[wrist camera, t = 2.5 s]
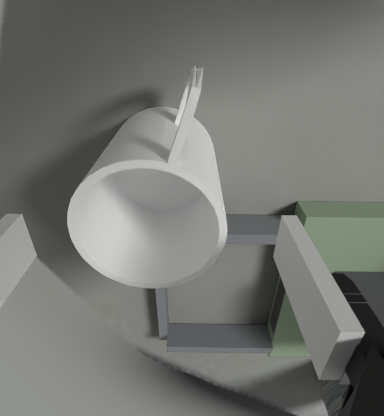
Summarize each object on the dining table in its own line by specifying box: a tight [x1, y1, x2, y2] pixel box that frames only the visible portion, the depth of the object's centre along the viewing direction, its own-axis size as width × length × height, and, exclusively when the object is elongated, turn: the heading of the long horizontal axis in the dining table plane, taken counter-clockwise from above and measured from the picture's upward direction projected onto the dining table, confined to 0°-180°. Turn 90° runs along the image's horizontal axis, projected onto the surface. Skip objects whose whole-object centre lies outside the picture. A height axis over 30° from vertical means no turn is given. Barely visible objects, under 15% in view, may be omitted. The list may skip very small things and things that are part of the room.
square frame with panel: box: [155, 201, 384, 384], centre depth 26 cm, size 20×25×10 cm
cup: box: [67, 64, 228, 288], centre depth 18 cm, size 8×12×10 cm
